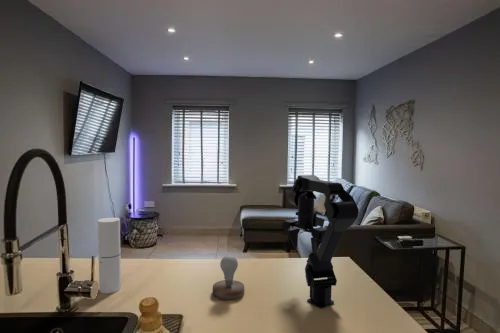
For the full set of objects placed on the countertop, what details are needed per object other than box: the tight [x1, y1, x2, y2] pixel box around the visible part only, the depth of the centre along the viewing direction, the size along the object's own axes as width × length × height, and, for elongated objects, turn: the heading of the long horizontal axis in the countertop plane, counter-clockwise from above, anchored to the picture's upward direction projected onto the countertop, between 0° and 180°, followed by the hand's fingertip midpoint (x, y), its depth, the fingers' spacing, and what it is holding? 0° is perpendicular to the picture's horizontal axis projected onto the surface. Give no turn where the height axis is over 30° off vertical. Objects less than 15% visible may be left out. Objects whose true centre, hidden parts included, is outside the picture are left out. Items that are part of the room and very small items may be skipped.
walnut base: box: [212, 279, 245, 301], centre depth 122 cm, size 11×11×2 cm
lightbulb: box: [219, 254, 239, 287], centre depth 122 cm, size 6×6×11 cm
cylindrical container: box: [97, 216, 122, 294], centre depth 123 cm, size 7×7×25 cm
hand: (304, 251), depth 128 cm, fingers open, 9 cm apart
